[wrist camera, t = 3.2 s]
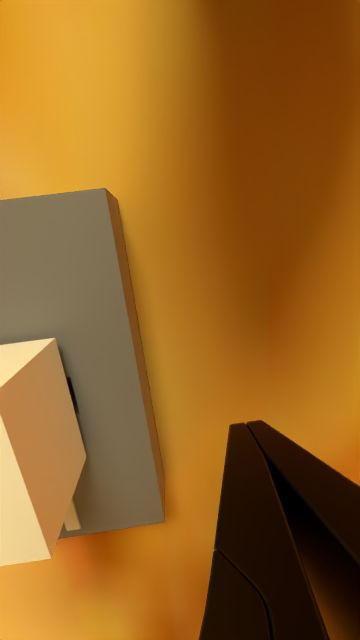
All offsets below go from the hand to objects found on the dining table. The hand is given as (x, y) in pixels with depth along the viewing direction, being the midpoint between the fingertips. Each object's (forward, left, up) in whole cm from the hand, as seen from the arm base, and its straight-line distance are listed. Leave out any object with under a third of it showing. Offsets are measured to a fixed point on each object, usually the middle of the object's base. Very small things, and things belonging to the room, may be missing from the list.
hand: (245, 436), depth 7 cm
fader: (+7, 0, -5) cm, 8 cm away
